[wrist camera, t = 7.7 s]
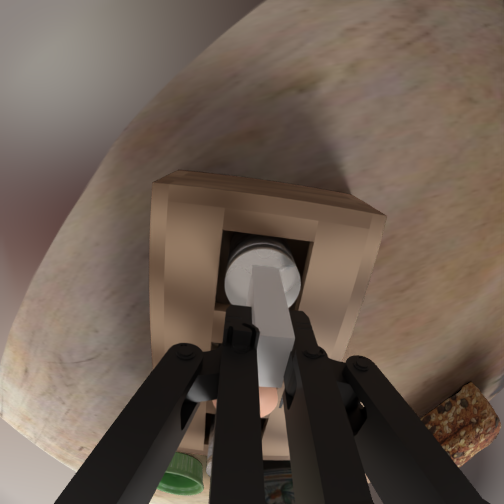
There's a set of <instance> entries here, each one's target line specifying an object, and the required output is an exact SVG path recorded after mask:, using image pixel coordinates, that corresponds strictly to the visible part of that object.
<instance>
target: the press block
mask: <svg viewBox="0 0 504 504" xmlns="http://www.w3.org/2000/svg"><path fill="white" fill-rule="evenodd" d="M386 219H387V216H386V215H385V214H383V213H381V212H380V211H378V210H376V209H375V208H373V207H372V206H370V205H368V204H367V203H365V202H363V201H362V200H360V199H358V198H356V197H355V196H353V195H351V194H346V193H340V192H335V191H329V190H324V189H318V188H312V187H306V186H300V185H294V184H288V183H281V182H275V181H268V180H261V179H254V178H246V177H238V176H230V175H222V174H213V173H204V172H195V171H185V170H177V171H175V172H173V173H171V174H169V175H167V176H165V177H163V178H161V179H159V180H157V181H155V182H153V183H152V198H151V217H150V247H149V302H150V331H151V350H152V365H153V369H154V368H155V367H156V365H157V364H158V363H159V361H160V360H161V359H162V357H163V356H164V355H165V353H166V352H167V351H168V349H169V348H170V347H172V346H173V345H175V344H178V343H191V344H194V345H196V346H198V347H199V348H200V349H201V350H202V352H205V351H211V350H214V349H217V348H218V345H219V343H222V341H223V332H224V323H225V314H226V309H227V308H228V307H229V306H230V305H231V303H230V301H229V299H228V297H227V295H226V291H225V277H226V270H227V263H228V256H229V249H230V243H231V239H232V236H233V234H234V233H235V232H243V233H251V234H258V235H266V236H274V237H281V238H286V240H287V242H288V245H289V247H290V250H291V253H292V255H293V258H294V261H295V264H296V266H297V269H298V272H299V275H300V280H301V286H300V291H299V294H298V296H297V298H296V300H295V302H294V303H293V304H292V305H291V306H290V307H289V308H288V309H289V310H296V311H303V312H304V313H305V314H306V315H307V316H308V317H309V319H310V322H311V325H312V328H313V329H312V330H313V331H314V335H315V338H316V341H317V344H318V346H320V347H321V348H323V349H324V350H325V351H326V353H327V355H328V358H330V359H333V360H336V361H340V362H341V361H342V358H343V356H344V353H345V351H346V348H347V345H348V343H349V340H350V337H351V335H352V332H353V329H354V326H355V323H356V321H357V318H358V315H359V312H360V309H361V306H362V303H363V300H364V297H365V294H366V290H367V287H368V284H369V281H370V278H371V274H372V271H373V267H374V264H375V261H376V257H377V253H378V250H379V246H380V242H381V239H382V235H383V231H384V227H385V223H386ZM284 388H285V385H284V380H283V383H282V387H281V388H277V394H278V403H277V406H276V407H275V409H274V410H273V411H272V412H271V413H269V414H268V415H266V416H264V417H261V434H262V452H263V460H290V454H289V446H288V438H287V430H286V422H285V413H284V405H282V408H279V404H280V401H281V398H282V394H283V391H284ZM212 414H216V408H215V406H214V404H213V401H212V400H210V401H202V402H200V405H199V407H198V409H197V411H196V413H195V415H194V417H193V419H192V421H191V423H190V425H189V427H188V429H187V431H186V433H185V435H184V437H183V439H182V441H181V443H180V445H179V447H178V449H177V451H178V452H184V453H191V454H198V455H206V456H208V446H209V436H210V426H211V416H212Z"/></svg>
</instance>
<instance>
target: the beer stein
mask: <svg viewBox="0 0 504 504" xmlns="http://www.w3.org/2000/svg"><path fill="white" fill-rule="evenodd" d="M263 470H264V488H265V504H295V497H294V488H293V480H292V471H291V463H290V460H263Z"/></svg>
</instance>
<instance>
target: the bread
mask: <svg viewBox="0 0 504 504" xmlns="http://www.w3.org/2000/svg"><path fill="white" fill-rule="evenodd" d="M420 420H421V421H422V422H423V423H424V425H425V426H426V427H427V428H428V430H429V431H430V432H431V433H432V435H433V436H434V437H435V438H436V440H437V441H438V442H439V443H440V445H441V446H442V447H443V448H444V450H445V451H446V452H447V453H448V455H449V456H450V457H451V459H452V460H453V461H454V462H455V464H456V465H457V466H458V467H461V466H462V465H463V464H465V463H466V462H467V461H469V460H470V459H471V458H473V457H474V456H475V454H476V453H477V452H478V451H480V450H482V449H483V448H485V447H487V446H488V445H489V444H491V443H492V441H493V440H494V439H495V438H496V437H497V435H498V433H499V431H500V428H501V425H500V424H501V423H500V420H499V418H498V416H497V415H496V413H495V411H494V409H493V408H492V406H491V405H490V403H489V402H488V401H487V399H486V398H485V397H484V395H483V394H482V393H481V392H480V390H479V388H477V387H476V386H475V385H474V384H473V383H472V382H470V383H468V384H467V385H464V386H463V387H462V390H461V391H460V392H458V393H457V394H456V395H454V396H451V398H448V399H447V400H445V401H444V402H443V403H442V404H440V405H438V406H437V407H436V408H435V409H434V410H432V411H431V412H429V413H428V414H426V415H425V416H423V417H422V418H420Z"/></svg>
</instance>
